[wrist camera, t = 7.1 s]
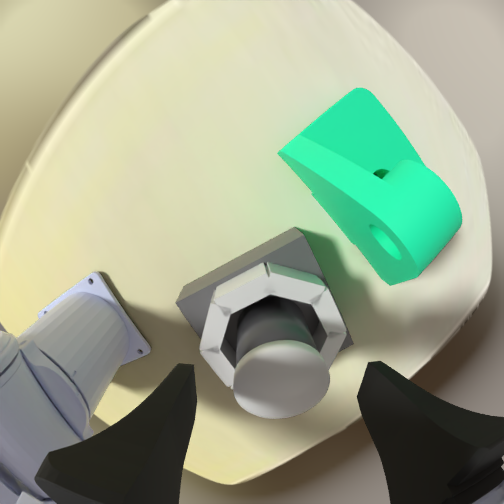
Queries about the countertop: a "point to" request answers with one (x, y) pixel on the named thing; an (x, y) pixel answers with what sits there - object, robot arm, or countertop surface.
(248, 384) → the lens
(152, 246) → the countertop surface
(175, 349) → the countertop surface
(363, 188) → the camera mount
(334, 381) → the countertop surface
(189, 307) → the square octagon-collar plate
